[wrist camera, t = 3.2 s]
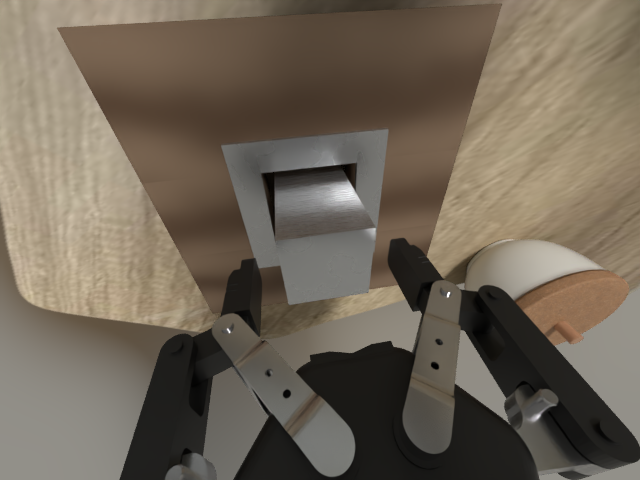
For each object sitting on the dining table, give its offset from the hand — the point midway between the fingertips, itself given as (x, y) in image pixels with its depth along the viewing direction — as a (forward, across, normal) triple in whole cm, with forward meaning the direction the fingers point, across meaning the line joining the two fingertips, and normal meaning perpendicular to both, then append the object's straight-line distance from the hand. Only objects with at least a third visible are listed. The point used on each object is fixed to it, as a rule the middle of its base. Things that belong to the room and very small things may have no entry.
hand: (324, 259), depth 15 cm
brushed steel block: (+9, 0, 0) cm, 9 cm away
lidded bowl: (+9, -23, +13) cm, 28 cm away
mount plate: (+9, 0, 0) cm, 9 cm away
